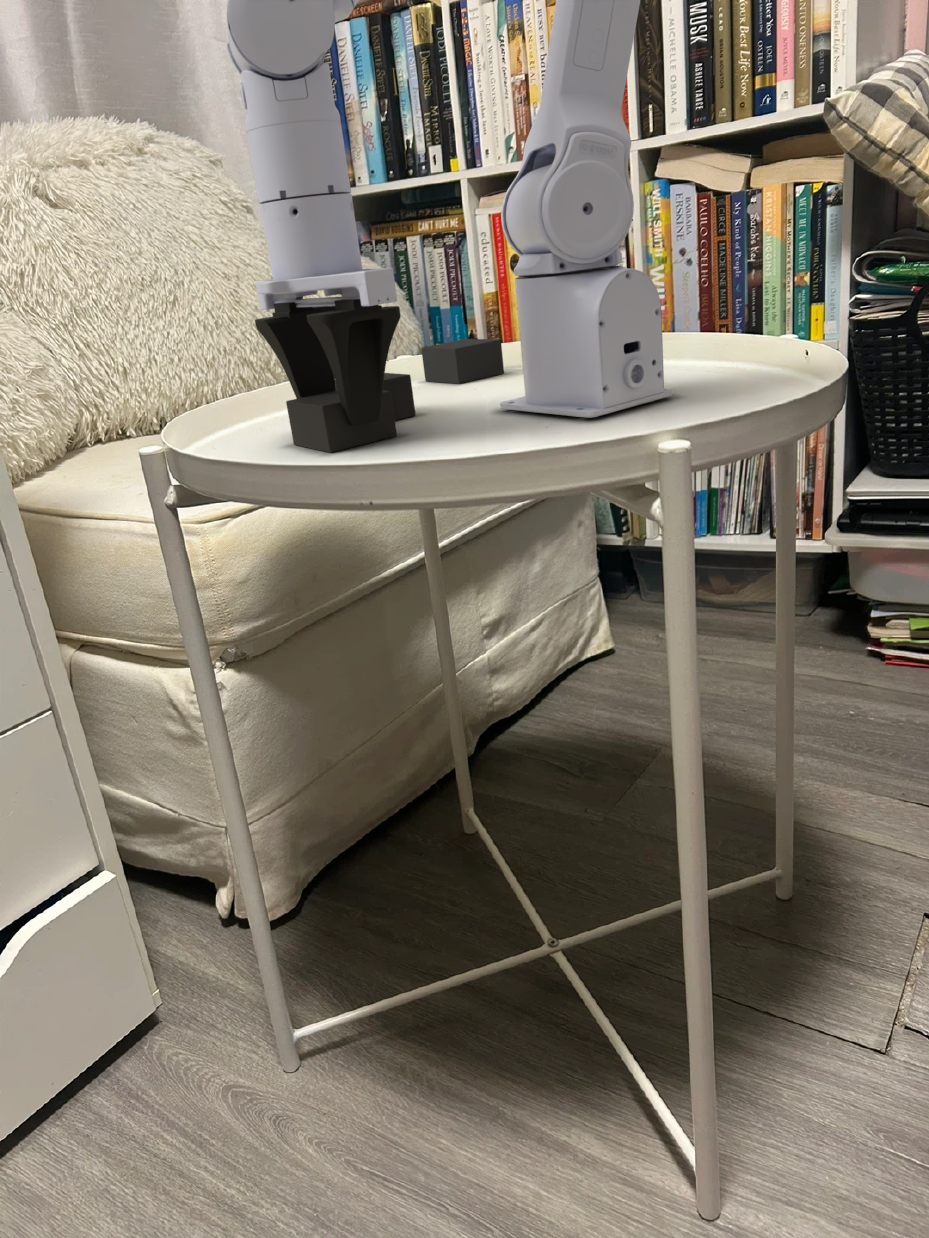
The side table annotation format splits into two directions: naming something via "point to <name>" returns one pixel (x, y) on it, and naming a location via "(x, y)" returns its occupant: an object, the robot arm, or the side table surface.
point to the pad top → (399, 394)
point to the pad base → (463, 360)
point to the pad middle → (335, 423)
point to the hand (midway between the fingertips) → (341, 419)
